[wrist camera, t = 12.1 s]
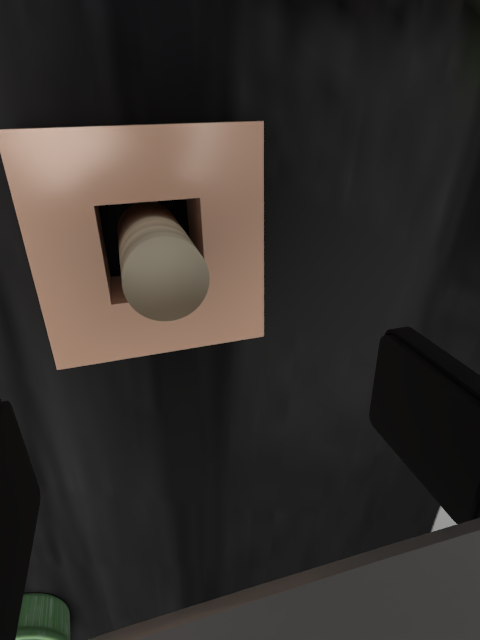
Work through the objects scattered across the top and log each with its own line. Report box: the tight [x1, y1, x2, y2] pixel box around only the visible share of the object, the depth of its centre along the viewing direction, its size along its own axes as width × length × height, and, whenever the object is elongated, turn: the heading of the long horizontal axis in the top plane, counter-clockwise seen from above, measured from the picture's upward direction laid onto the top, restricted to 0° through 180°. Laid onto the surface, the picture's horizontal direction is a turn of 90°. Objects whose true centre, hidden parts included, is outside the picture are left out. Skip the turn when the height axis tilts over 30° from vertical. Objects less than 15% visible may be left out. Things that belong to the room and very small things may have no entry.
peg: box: [117, 202, 210, 321], centre depth 23 cm, size 4×4×10 cm
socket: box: [0, 121, 264, 370], centre depth 25 cm, size 13×13×5 cm
